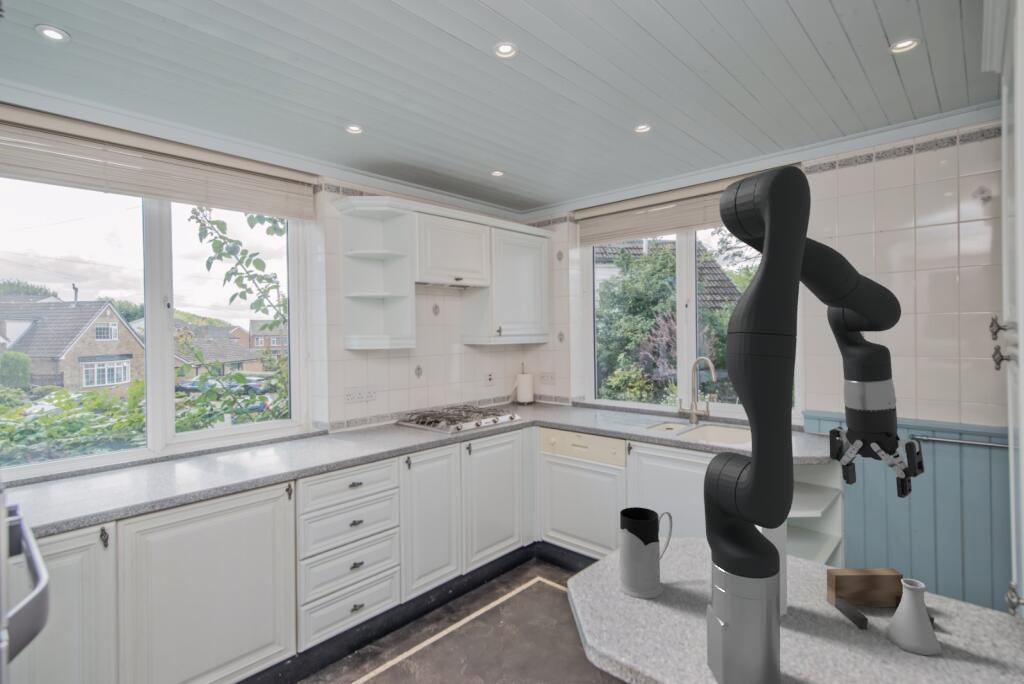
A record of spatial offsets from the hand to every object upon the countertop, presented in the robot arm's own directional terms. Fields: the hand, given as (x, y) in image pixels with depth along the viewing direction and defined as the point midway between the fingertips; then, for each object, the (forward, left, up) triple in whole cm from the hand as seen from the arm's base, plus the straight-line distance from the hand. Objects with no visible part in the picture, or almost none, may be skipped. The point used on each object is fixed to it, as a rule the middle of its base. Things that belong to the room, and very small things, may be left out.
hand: (876, 489), depth 91 cm
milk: (-20, +1, -23) cm, 30 cm away
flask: (0, -9, -23) cm, 24 cm away
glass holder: (-39, +11, -23) cm, 46 cm away
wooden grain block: (0, -1, -22) cm, 22 cm away
